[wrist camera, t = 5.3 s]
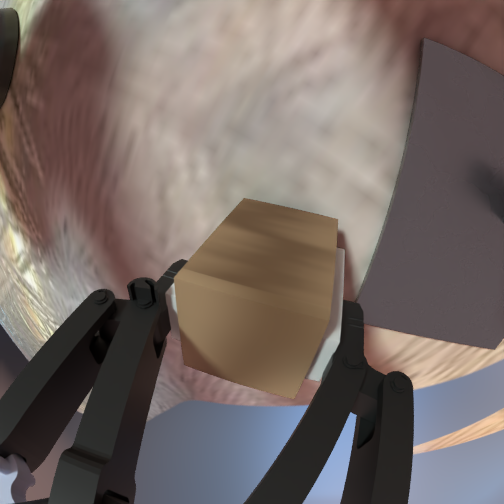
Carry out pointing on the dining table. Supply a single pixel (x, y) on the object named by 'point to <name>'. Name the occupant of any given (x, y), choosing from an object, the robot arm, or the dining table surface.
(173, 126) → the dining table surface
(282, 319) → the brown rectangular block
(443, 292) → the grey plate
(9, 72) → the robot arm
